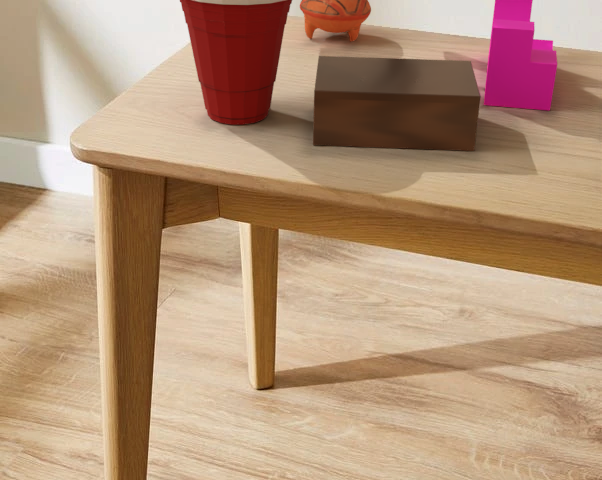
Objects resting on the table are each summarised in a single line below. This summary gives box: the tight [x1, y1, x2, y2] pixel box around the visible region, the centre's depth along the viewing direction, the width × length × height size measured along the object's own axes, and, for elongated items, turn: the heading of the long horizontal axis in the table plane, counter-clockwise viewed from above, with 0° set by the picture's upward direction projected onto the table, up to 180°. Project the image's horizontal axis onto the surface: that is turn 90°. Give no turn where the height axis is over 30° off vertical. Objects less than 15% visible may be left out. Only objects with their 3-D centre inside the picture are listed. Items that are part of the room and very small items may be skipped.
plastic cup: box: [179, 0, 293, 125], centre depth 88 cm, size 11×11×12 cm
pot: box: [299, 0, 372, 42], centre depth 109 cm, size 8×8×7 cm
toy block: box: [483, 0, 558, 111], centre depth 97 cm, size 15×6×8 cm, turn 169°
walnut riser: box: [312, 55, 482, 152], centre depth 87 cm, size 14×9×5 cm, turn 87°
